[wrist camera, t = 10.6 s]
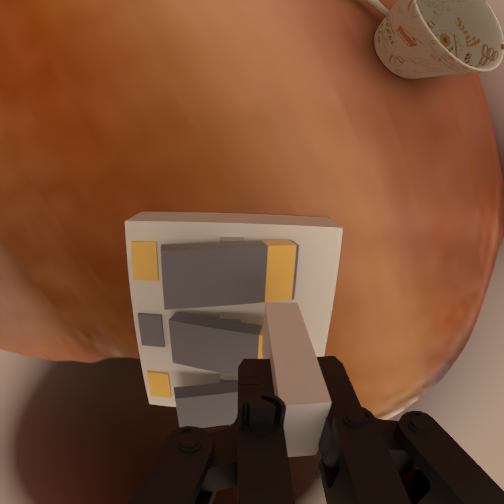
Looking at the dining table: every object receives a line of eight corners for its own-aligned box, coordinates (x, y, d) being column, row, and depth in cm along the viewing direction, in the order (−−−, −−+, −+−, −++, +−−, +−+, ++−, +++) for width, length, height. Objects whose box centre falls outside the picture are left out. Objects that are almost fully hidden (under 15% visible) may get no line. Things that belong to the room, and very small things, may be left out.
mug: (409, 108, 23) (479, 94, 14) (306, 11, 21) (334, -50, 11) (450, 61, 21) (516, 40, 12) (359, -29, 19) (397, -82, 9)
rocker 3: (178, 418, 24) (180, 430, 23) (173, 386, 23) (174, 398, 22) (274, 405, 27) (279, 415, 26) (278, 374, 26) (284, 384, 24)
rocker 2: (179, 353, 25) (172, 363, 23) (176, 311, 24) (168, 319, 22) (287, 371, 23) (285, 383, 22) (293, 328, 22) (291, 339, 21)
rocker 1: (164, 300, 21) (164, 309, 20) (160, 243, 20) (160, 250, 18) (286, 291, 23) (294, 299, 22) (291, 239, 22) (299, 244, 21)
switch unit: (157, 379, 31) (147, 410, 26) (141, 211, 26) (119, 223, 21) (306, 384, 31) (313, 416, 26) (329, 217, 26) (347, 230, 21)
